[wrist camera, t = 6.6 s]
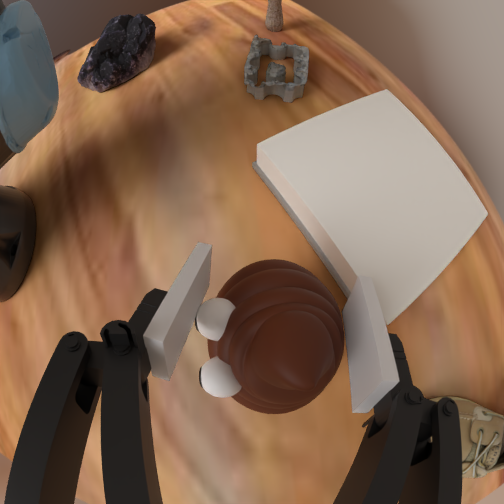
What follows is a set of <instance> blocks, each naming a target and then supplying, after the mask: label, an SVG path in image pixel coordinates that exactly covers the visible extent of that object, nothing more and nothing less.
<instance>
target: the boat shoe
mask: <svg viewBox="0 0 504 504" xmlns="http://www.w3.org/2000/svg"><path fill="white" fill-rule="evenodd" d="M446 397H449V398H451V399H453V400H454V401H455V403H456V404H457V407H458V411H459V419H460V429H461V442H462V477H465V478H480V477H484V476H485V475H486V474H487V473H489V472H493V471H496V470H499V469H503V468H504V416H503V415H501V414H498V413H496V412H493V411H491V410H489V409H487V408H484V407H482V406H481V405H478V404H476V403H475V402H472V401H470V400H467V399H463V398H459V397H453V396H446ZM442 398H443V397H438V398H433V399H429V400H432V401H435V402H438V401H439V400H440V399H442ZM431 442H432V437H431Z"/></svg>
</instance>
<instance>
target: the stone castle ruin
mask: <svg viewBox="0 0 504 504" xmlns="http://www.w3.org/2000/svg"><path fill="white" fill-rule="evenodd" d="M262 55H269V56H270V58H272V59H274V60H283V59H285V58H286V57H291V58H293V59H294V69H293V71H294V81H293V83H288V84H286V83H285V75H286V72H285V69H286V68H285V66H284V65H280V64H275V63H274V62H270V63H269V64H268V69H267V71H266V82H264V81H262V82H261V85H260V86H258V87H256V86H255V85H256V84H257V79H258V78H257V76H258V69H259V68H260V57H261V56H262ZM308 63H309V49H308V48H307V47H304V46H298V45H296V44H294V45H287V44H286V43H285V42H283V43H282V44H281V46H277V45H272V42H271V40H270V39H266V38H262V39H261V38H258V35H255V36H254V38H253V41H252V44H251V48H250V52H249V54H248V58H247V61H246V64H245V69H244V77H245V80H244V84H245V85H246V84H247V92H248V93H251V94H253V95H254V97H255V99H260V100H263V99H264V98H265V97H266V96H267V95H270V94H275V95H278V96H280V97H281V98H282V99H283V101H284V102H293V100H294V99H295V98H302V96H303V91H304V84H305V83H306V82H307V76H308Z"/></svg>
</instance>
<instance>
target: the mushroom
mask: <svg viewBox="0 0 504 504" xmlns="http://www.w3.org/2000/svg"><path fill="white" fill-rule="evenodd" d="M281 1H282V0H268V9H267V15H266V21H265V24H266V27H267V29H268V30H270V31H274V32H275V31H276V32H277V31H280V30H281V29H282V26H283V14H282V6H281Z"/></svg>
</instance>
